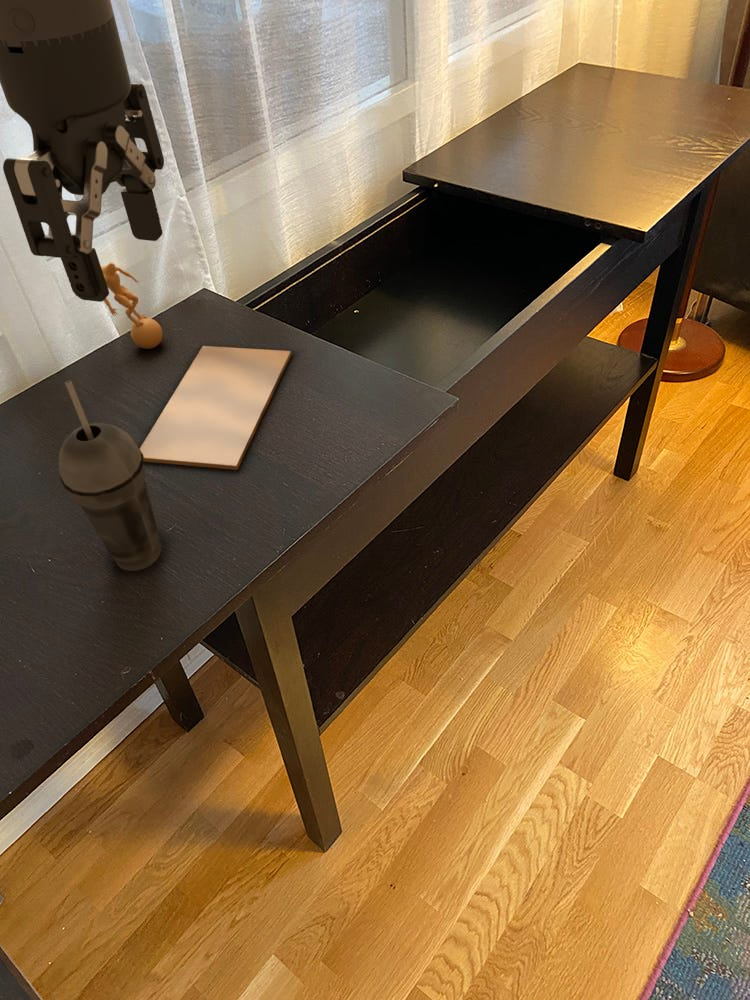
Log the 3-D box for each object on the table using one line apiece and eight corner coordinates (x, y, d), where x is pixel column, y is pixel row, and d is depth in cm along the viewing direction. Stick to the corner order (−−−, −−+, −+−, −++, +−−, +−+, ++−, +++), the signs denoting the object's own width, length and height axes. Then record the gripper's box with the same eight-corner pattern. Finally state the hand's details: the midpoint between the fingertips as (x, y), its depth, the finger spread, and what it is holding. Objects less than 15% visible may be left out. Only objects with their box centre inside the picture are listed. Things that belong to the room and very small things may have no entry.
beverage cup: (108, 592, 74) (29, 428, 60) (95, 541, 79) (19, 379, 65) (183, 565, 76) (123, 400, 62) (165, 517, 81) (107, 354, 67)
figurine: (155, 364, 101) (128, 279, 92) (111, 364, 101) (80, 280, 93) (174, 329, 106) (150, 246, 98) (132, 328, 107) (105, 246, 99)
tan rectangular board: (237, 470, 85) (236, 466, 85) (135, 461, 87) (134, 457, 87) (291, 354, 100) (291, 350, 100) (203, 349, 102) (202, 345, 102)
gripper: (54, -20, 51) (122, 217, 63) (-87, 52, 42) (24, 315, 53) (158, -17, 49) (208, 225, 61) (37, 58, 40) (123, 327, 52)
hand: (122, 266), depth 57 cm, fingers open, 8 cm apart
